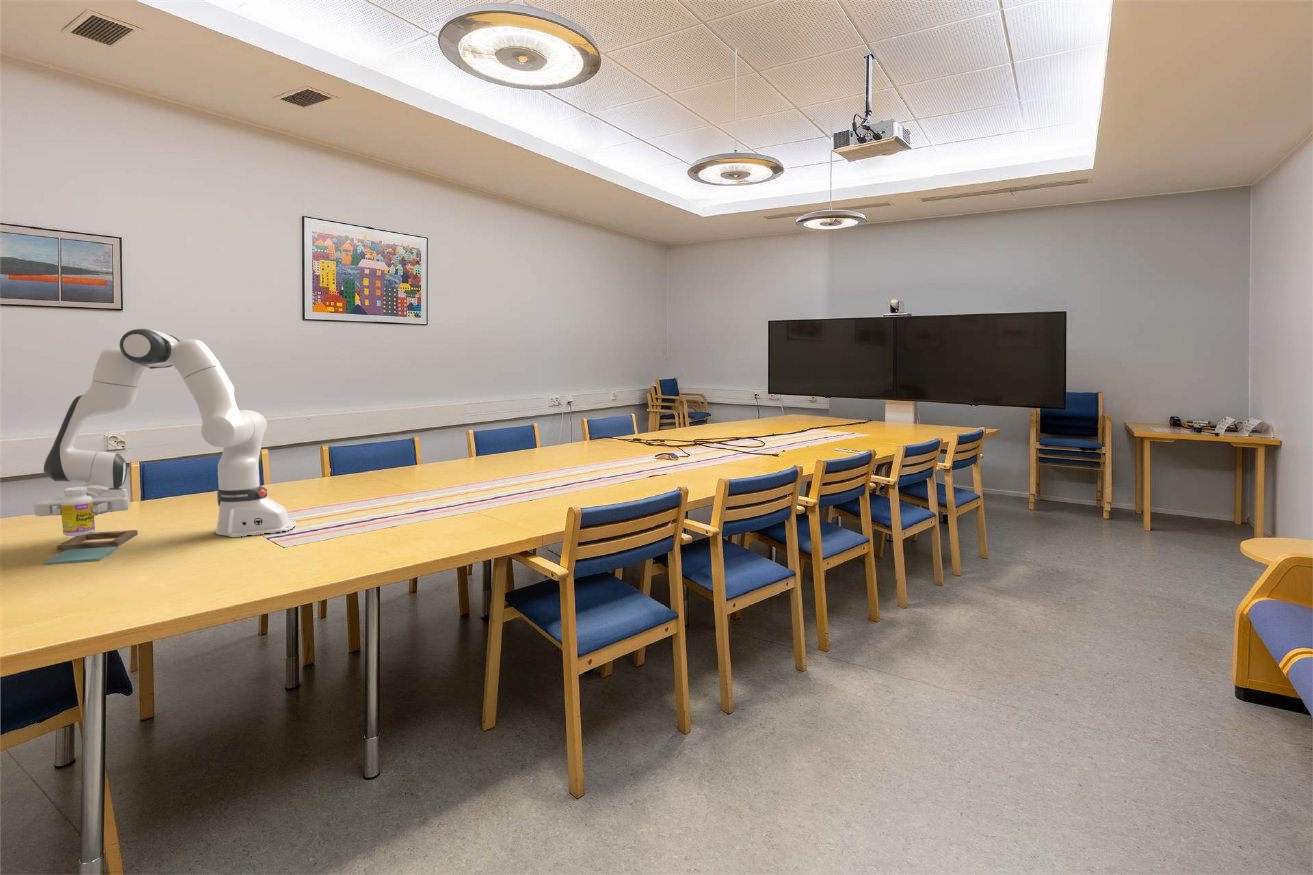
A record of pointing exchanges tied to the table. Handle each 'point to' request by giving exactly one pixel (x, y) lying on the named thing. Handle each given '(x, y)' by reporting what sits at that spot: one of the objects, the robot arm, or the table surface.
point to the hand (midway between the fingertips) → (76, 511)
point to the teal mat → (81, 555)
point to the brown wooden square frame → (78, 544)
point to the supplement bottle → (77, 512)
